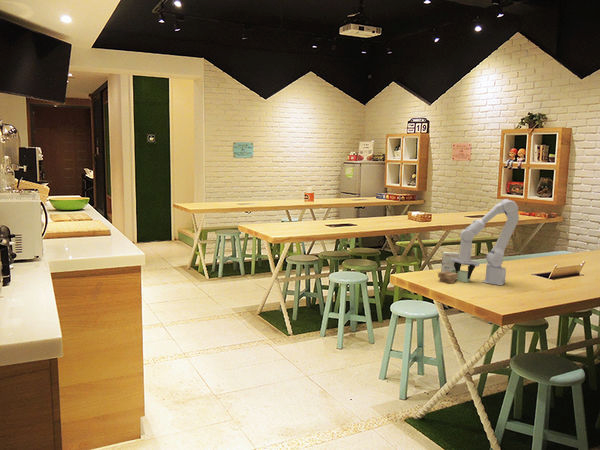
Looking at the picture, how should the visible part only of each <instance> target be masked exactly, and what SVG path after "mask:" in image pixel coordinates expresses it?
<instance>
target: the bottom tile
mask: <svg viewBox="0 0 600 450" xmlns="http://www.w3.org/2000/svg"><path fill="white" fill-rule="evenodd" d="M456 281H457V278H456V279H452V280H447V279H443V278H439V281H438V282H439V283H446V284H451V285H452V284H454V283H456Z"/></svg>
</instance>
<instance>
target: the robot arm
mask: <svg viewBox="0 0 600 450" xmlns="http://www.w3.org/2000/svg"><path fill="white" fill-rule="evenodd" d="M499 214H501V215H502V214H505V216H506V221H505V223H504V226H503V227H502V230H501V232H500V233H499V237H498V238H497V240H496V242H495V244H494V246H493V247H492V248H491V250H490V251H489V252H488V253H487V254H486V256H485V257H486V261H487V263H486V269H485V279H484V280H483V281H482V283H485V284H488V285H489V284H491V285H496V286H503V285H504V284H506V274H507V268H506V267H503V266H502V264H503V261H504V259H503V258H504V255H505V250H506V248H507V246H508V243H509V241H510V239H511V236H512V235H513V233H514V231H515V229H516V226H517V224H518V222H519V219H520V216H519V206H518V205H517V203H516V202H515V201H514V200H510V199H509V198H503V199H502V200H501V201H500V202H497V203H496V204H495V205H494V206H493V207H492V208H491V209H490V210H489V211H488V212H486V214H485V215H484V216H483V217H481V219H479V218H478V219H473V220H472V222H471V224H470V225H469V226H466V227H465V229H463V230H461V232H460V234H459V237H460V244H459V259H451V263H454V267H455V270H456V273H457V274H458V271H460V270H461V268H462V267H461V266H462V265H467V271H468V279H470V280H471V278H472V277H471V276H472V273H473V272H474V270H475V268H476V267H477V268H478V267H479V266H480V262H478V261H475V260H472V259H471V258H472V247H473V246H472V245H473V240H474V238H475V236H477V235H478V234H479V233H480V232H482V230H484V229H485V226H486V224H487V223H488V222H489V221H491V220H492V219H493V218H495V217H496V216H497V215H499Z"/></svg>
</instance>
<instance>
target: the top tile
mask: <svg viewBox="0 0 600 450" xmlns="http://www.w3.org/2000/svg"><path fill="white" fill-rule="evenodd" d="M457 276H458V274H457V273H453V272H448V271H444V272H441V271H440V272H438V274H437V278H439V279H440V278H443V279H447V280H452V279H456V280H457Z"/></svg>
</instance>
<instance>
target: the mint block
mask: <svg viewBox="0 0 600 450" xmlns="http://www.w3.org/2000/svg"><path fill="white" fill-rule="evenodd" d="M470 280H471V278H470V279H468V270H463V269H460V271H458V276H457V278H456V281H457V282H463V283H469V282H470Z"/></svg>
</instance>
